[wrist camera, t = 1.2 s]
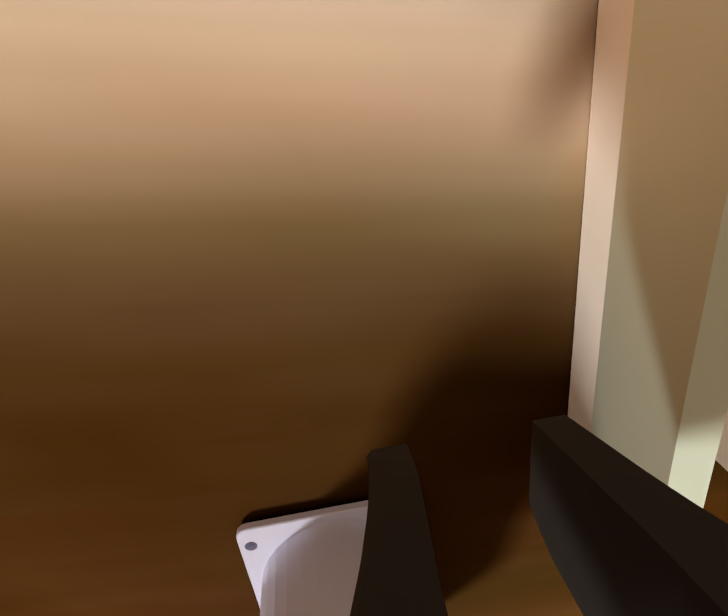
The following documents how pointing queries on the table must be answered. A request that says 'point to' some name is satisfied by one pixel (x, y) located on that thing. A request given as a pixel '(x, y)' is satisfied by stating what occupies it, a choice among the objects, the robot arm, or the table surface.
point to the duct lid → (669, 250)
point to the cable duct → (603, 205)
